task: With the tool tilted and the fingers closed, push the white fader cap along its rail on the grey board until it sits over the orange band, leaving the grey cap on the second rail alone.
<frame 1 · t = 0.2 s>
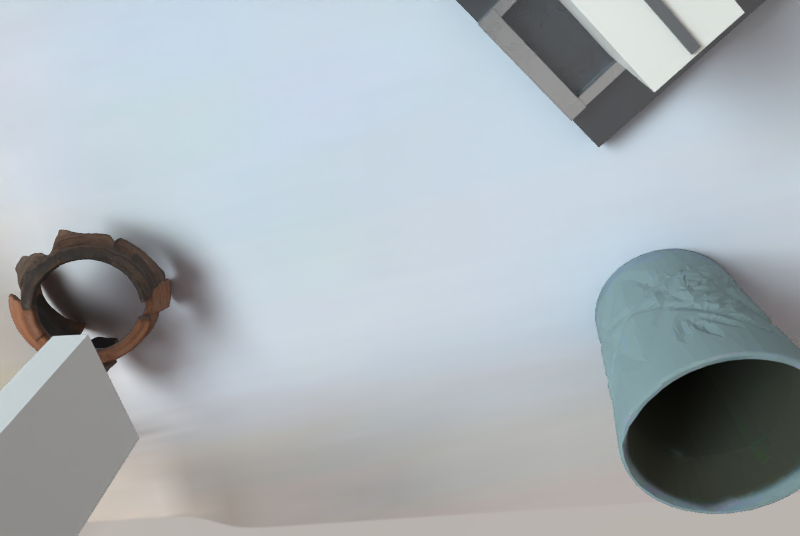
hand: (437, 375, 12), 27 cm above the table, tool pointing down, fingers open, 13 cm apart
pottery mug: (110, 291, 45), on the table
green tapered cup: (661, 309, 42), on the table
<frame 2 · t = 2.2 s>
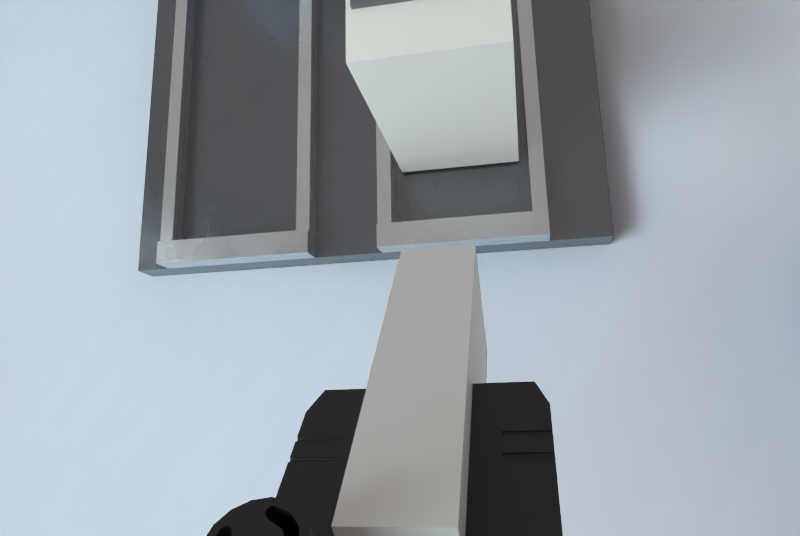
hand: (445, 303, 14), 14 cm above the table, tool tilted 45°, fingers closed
white fader: (444, 68, 24), point 6 cm above the table, slide at 0.0 cm
grey board: (454, 3, 31), on the table
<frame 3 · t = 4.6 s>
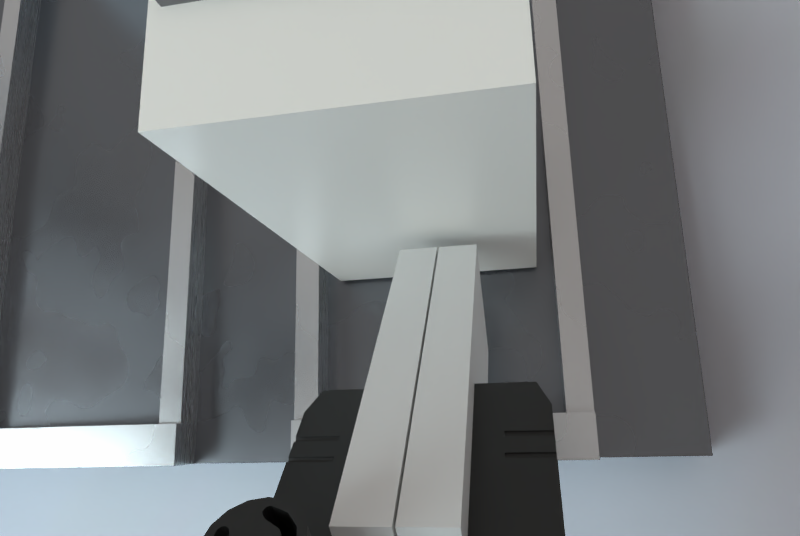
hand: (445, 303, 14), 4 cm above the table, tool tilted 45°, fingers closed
white fader: (396, 120, 12), point 6 cm above the table, slide at 1.0 cm, touching gripper
grey board: (432, 28, 20), on the table
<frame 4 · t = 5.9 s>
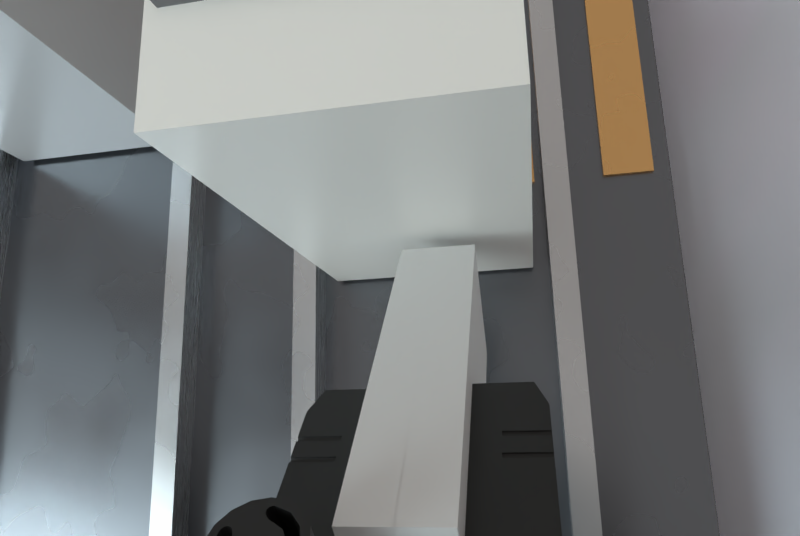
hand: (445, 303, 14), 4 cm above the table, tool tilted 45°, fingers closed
white fader: (392, 121, 12), point 6 cm above the table, slide at 8.5 cm, touching gripper
grey board: (439, 269, 18), on the table
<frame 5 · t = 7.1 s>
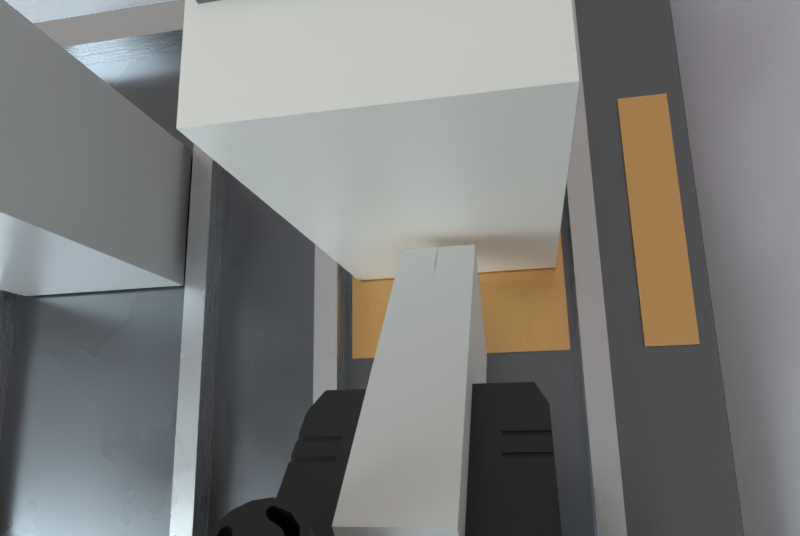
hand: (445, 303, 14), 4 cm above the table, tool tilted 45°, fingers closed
white fader: (421, 119, 12), point 6 cm above the table, slide at 12.8 cm, touching gripper
grey board: (466, 429, 17), on the table
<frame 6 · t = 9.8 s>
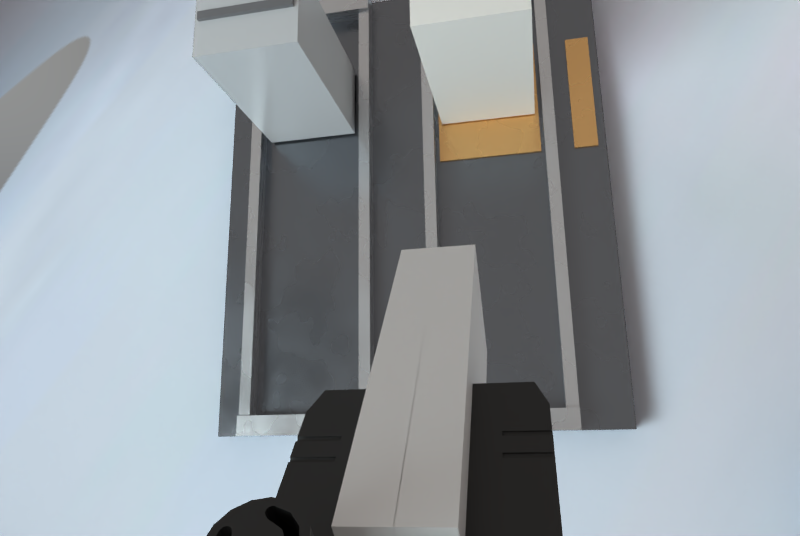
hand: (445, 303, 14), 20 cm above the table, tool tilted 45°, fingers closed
white fader: (477, 37, 31), point 6 cm above the table, slide at 12.9 cm
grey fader: (283, 63, 33), point 6 cm above the table, slide at 13.0 cm
grey board: (493, 196, 35), on the table
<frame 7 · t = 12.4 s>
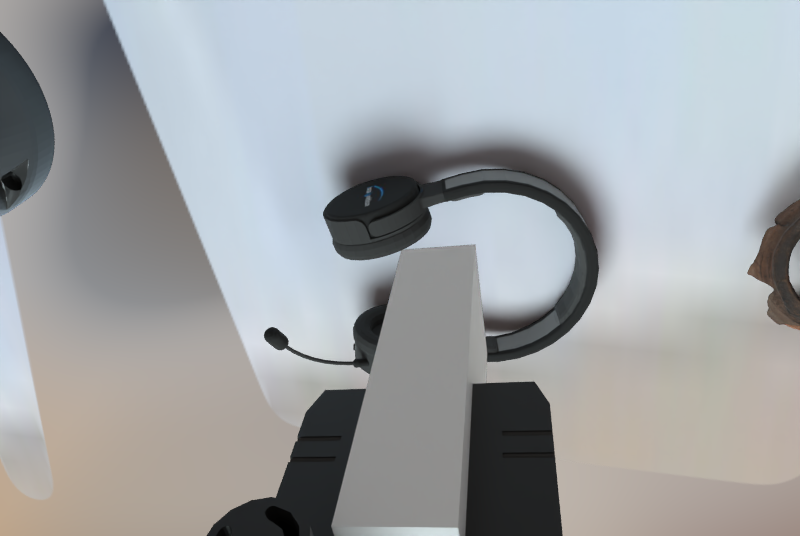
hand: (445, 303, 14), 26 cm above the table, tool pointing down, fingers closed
headset: (447, 256, 44), on the table
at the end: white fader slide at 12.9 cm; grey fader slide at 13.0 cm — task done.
